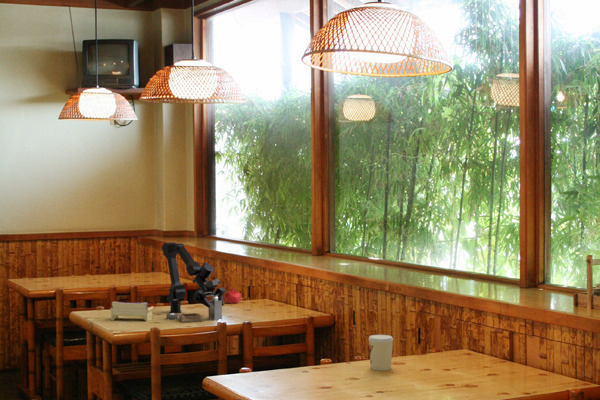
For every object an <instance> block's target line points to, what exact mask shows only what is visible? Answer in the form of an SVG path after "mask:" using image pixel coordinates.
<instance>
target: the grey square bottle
mask: <svg viewBox="0 0 600 400" xmlns="http://www.w3.org/2000/svg"><path fill="white" fill-rule="evenodd" d="M211 297H212V299H210V300H208V299H207V300H208V302H209V304H210V306H211V307H210V308H208V307H207V308H208V309H207V310H208V320H210V321H219V319H221V320H223V306H222V300H218V296H214V295H213V296H211Z"/></svg>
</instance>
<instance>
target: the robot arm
mask: <svg viewBox="0 0 600 400" xmlns="http://www.w3.org/2000/svg"><path fill="white" fill-rule="evenodd" d="M161 251H162V255H164V257H165V258H166V260H167V261H166V262H167V265H168V272H169V279H170V286H169V293H168V294H167V296H166V299H165V300H166V302H167V303H169V304H170V306H169V307H170V309H169V314H170V313H174V314H182V306H181V302H183V301H185V298H186V292H187V291H186V286H185V284H182V282H181V279H180V272H179V268H178V267H179V266H178V261H177V255H178V256H179V257H180V259H181V260H182V262H183V263H184V265H185V266H186V267H185V270H186V272H187V275H189V276H190V277H193V278H192V283H193V284H196V285H197V287H198V289H197V290H196V291H195V293H194V294H193V296H192V299H193V301H194V302H197V303H200V304H201V305H203V306H205V307H206V308H210V307H211V306H210V304H209V302H208V299H207V297H213V296H218V300H222V307H224V305H225V302H224V294H226V289H225V287H218V286H219V285H221V282H220V281H221V280H220V279H219V278H215V279H211V280H209V281H208V279H210V276H211V275H212V273H214V270H215V268H214V266H213V265H212V264H210V263H208V262H203V264H202V265H201V264H200V263H199V262H197V261H195V260H194V259H193V257H192V256H191V254H190V253H189V251H188V250H187V249H186V247H185V244H184V243H182V242H181V243H180V242H179V243H176V242H174V241H171V242H163V244H162V245H161ZM216 287H217V288H216ZM215 289H216V290H215ZM214 290H215V291H214Z"/></svg>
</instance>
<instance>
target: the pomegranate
mask: <svg viewBox="0 0 600 400" xmlns="http://www.w3.org/2000/svg"><path fill="white" fill-rule="evenodd" d="M241 299H242V294H241V292H239V291H237V289H234V287H231V289H229V290H227V291H226V292H225V295H224V300H225V302H226V303H227V304H230V305H231V304H232V305H233V304H238V303H240V302H241Z"/></svg>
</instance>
